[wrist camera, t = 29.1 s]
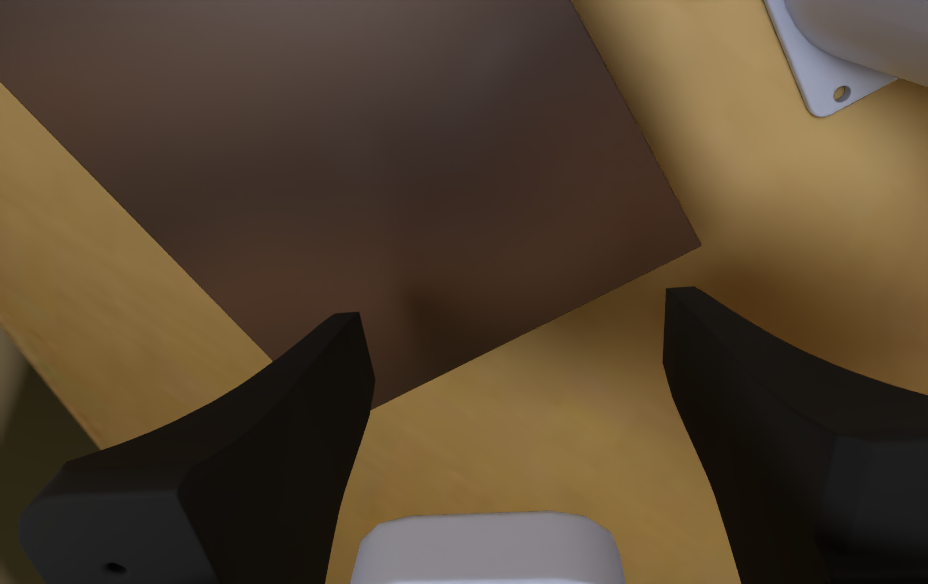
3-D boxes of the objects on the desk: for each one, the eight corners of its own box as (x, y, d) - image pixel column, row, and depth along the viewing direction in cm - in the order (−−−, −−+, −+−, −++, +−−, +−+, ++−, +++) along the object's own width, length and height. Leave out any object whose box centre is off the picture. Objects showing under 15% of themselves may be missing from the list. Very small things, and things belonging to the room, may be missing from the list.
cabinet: (130, 5, 21) (-53, 29, 14) (415, -276, 16) (341, -431, 10) (384, 308, 26) (337, 427, 19) (648, 157, 22) (702, 246, 15)
